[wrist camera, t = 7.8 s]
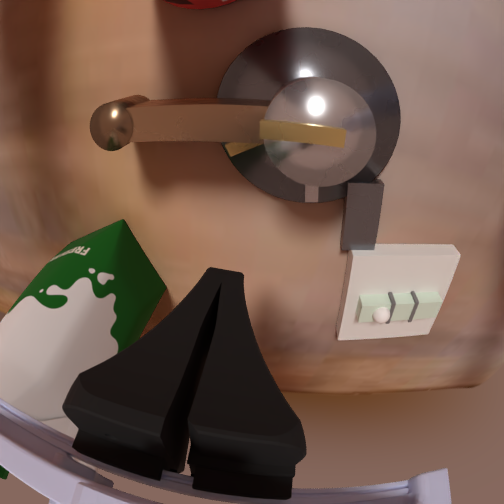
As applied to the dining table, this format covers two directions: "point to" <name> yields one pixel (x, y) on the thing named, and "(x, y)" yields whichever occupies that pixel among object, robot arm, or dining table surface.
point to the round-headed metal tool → (257, 126)
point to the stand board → (394, 290)
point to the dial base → (331, 67)
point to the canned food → (198, 3)
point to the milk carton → (75, 321)
